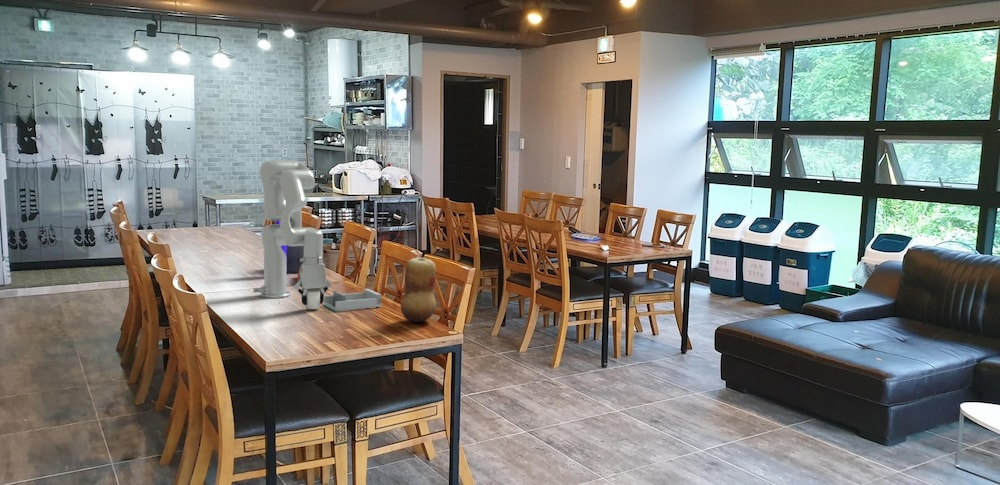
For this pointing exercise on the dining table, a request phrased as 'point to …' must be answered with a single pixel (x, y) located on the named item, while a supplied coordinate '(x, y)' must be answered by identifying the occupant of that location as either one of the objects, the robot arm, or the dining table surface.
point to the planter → (294, 258)
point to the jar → (313, 298)
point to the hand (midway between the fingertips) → (312, 303)
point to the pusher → (338, 297)
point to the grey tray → (355, 301)
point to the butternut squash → (419, 290)
